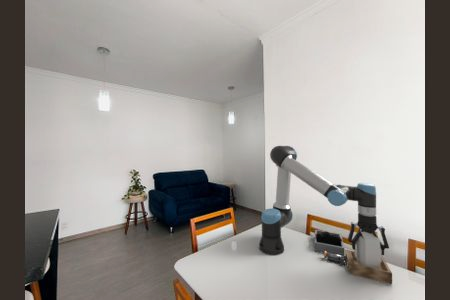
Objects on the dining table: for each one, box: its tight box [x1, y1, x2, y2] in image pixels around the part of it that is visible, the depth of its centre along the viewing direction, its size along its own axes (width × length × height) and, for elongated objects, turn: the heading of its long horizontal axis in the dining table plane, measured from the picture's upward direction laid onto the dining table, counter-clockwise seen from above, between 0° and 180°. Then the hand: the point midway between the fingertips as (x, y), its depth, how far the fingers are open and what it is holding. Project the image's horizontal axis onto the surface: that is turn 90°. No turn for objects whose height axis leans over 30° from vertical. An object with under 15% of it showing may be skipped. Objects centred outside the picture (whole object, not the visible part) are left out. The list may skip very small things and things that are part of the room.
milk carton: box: [355, 229, 381, 269], centre depth 95 cm, size 7×7×19 cm
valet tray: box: [314, 229, 345, 256], centre depth 120 cm, size 16×20×5 cm
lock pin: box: [323, 251, 346, 262], centre depth 103 cm, size 10×4×4 cm, turn 63°
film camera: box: [314, 231, 343, 247], centre depth 120 cm, size 15×10×9 cm, turn 70°
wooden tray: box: [344, 248, 393, 285], centre depth 95 cm, size 16×15×5 cm
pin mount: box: [327, 253, 346, 266], centre depth 103 cm, size 8×6×4 cm
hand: (367, 258), depth 95 cm, fingers closed on milk carton, 9 cm apart
